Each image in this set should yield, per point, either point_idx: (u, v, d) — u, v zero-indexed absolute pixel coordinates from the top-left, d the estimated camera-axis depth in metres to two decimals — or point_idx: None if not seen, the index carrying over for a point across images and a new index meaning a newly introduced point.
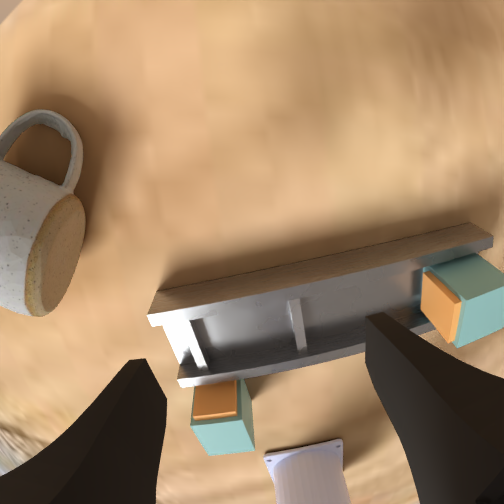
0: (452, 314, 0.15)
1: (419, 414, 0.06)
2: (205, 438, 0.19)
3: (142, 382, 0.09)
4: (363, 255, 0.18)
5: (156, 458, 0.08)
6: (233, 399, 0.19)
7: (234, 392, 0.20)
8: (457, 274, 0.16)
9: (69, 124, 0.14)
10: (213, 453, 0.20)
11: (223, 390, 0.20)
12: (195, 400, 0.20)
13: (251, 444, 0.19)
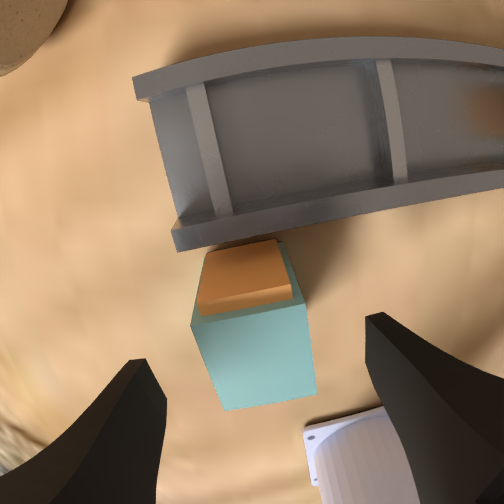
0: None
1: (419, 414, 0.06)
2: (221, 363, 0.10)
3: (142, 382, 0.09)
4: None
5: (156, 458, 0.08)
6: (282, 269, 0.10)
7: (281, 261, 0.11)
8: None
9: None
10: (234, 403, 0.11)
11: (259, 261, 0.11)
12: (203, 280, 0.11)
13: (313, 378, 0.10)
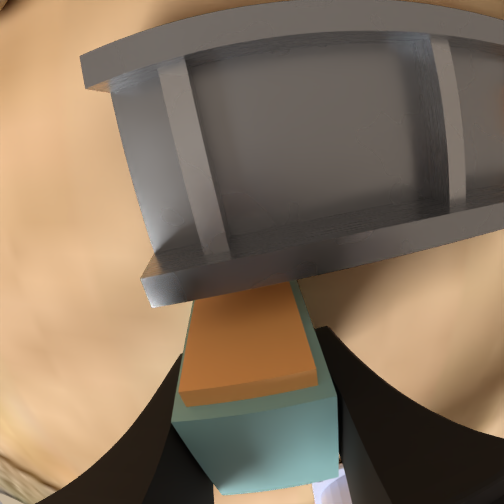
0: None
1: (346, 438, 0.06)
2: (216, 457, 0.07)
3: None
4: None
5: None
6: (301, 337, 0.07)
7: (299, 321, 0.08)
8: None
9: None
10: (234, 489, 0.07)
11: (268, 320, 0.08)
12: (189, 348, 0.07)
13: (335, 464, 0.07)
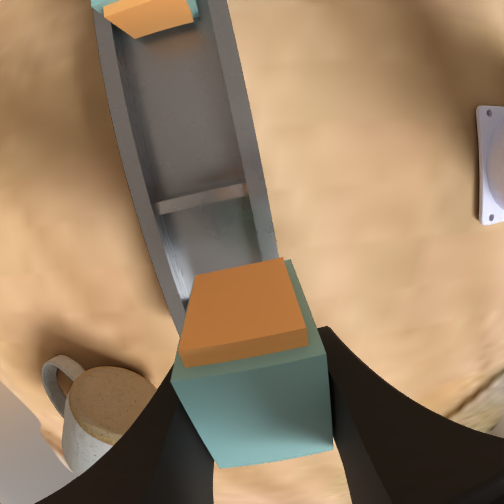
0: (125, 10, 0.08)
1: (346, 438, 0.06)
2: (213, 422, 0.07)
3: None
4: None
5: (211, 456, 0.08)
6: (293, 303, 0.08)
7: (292, 290, 0.08)
8: None
9: (45, 363, 0.20)
10: (231, 462, 0.08)
11: (262, 290, 0.09)
12: (189, 316, 0.08)
13: (329, 434, 0.08)
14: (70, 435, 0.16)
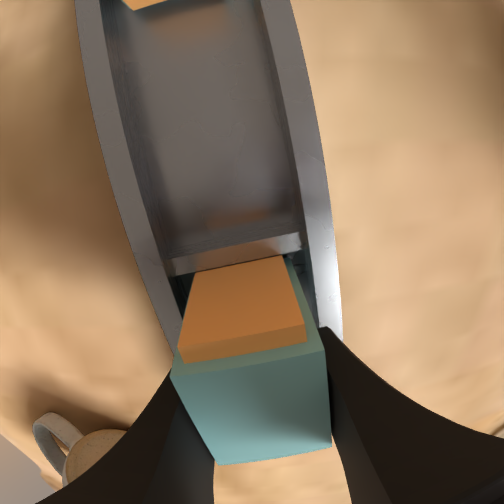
0: None
1: (346, 438, 0.06)
2: (212, 419, 0.07)
3: None
4: None
5: None
6: (292, 299, 0.08)
7: (290, 287, 0.08)
8: None
9: (35, 422, 0.15)
10: (230, 459, 0.08)
11: (261, 287, 0.09)
12: (188, 312, 0.08)
13: (328, 431, 0.08)
14: None
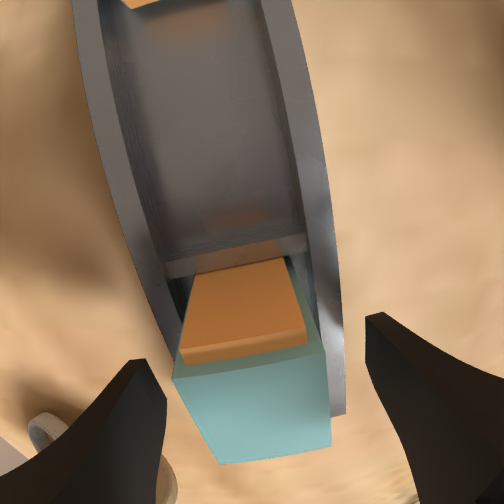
0: None
1: (419, 414, 0.06)
2: (213, 419, 0.07)
3: (142, 382, 0.09)
4: None
5: (156, 458, 0.08)
6: (292, 301, 0.08)
7: (291, 289, 0.08)
8: None
9: (29, 422, 0.15)
10: (231, 458, 0.08)
11: (262, 288, 0.09)
12: (189, 314, 0.08)
13: (328, 431, 0.08)
14: None
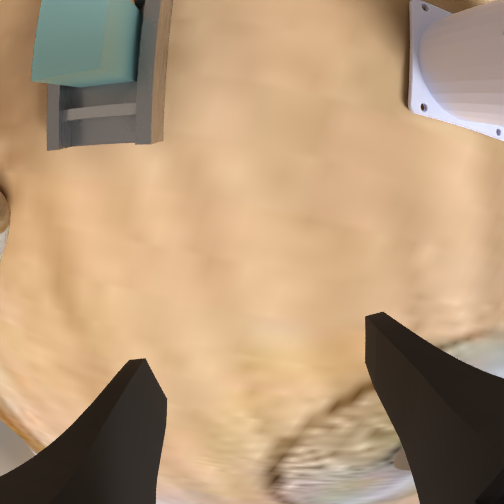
0: None
1: (419, 414, 0.06)
2: (45, 28, 0.09)
3: (142, 382, 0.09)
4: None
5: (156, 458, 0.08)
6: None
7: None
8: None
9: None
10: (39, 72, 0.09)
11: None
12: None
13: (100, 48, 0.09)
14: None
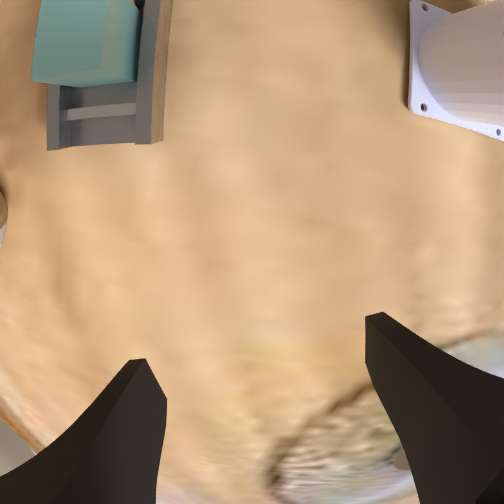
0: None
1: (419, 414, 0.06)
2: (45, 28, 0.09)
3: (142, 382, 0.09)
4: None
5: (156, 458, 0.08)
6: None
7: None
8: None
9: None
10: (39, 72, 0.09)
11: None
12: None
13: (100, 48, 0.09)
14: None
